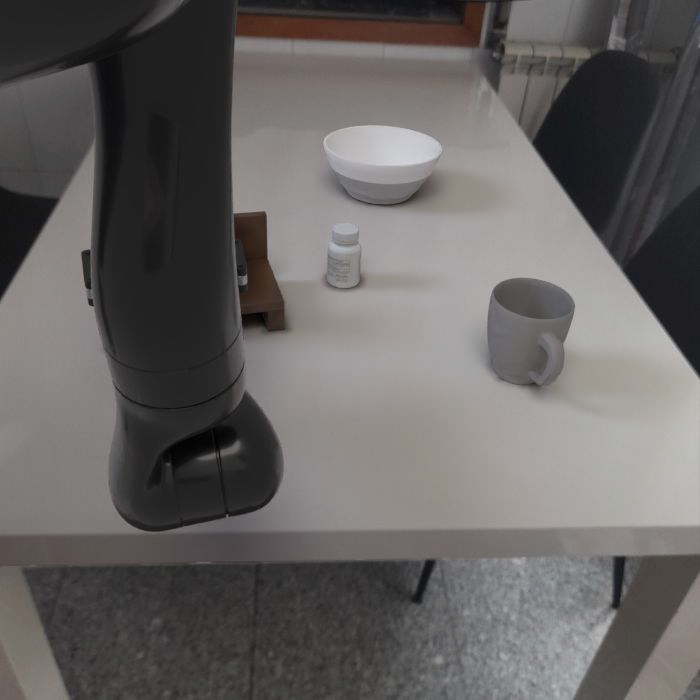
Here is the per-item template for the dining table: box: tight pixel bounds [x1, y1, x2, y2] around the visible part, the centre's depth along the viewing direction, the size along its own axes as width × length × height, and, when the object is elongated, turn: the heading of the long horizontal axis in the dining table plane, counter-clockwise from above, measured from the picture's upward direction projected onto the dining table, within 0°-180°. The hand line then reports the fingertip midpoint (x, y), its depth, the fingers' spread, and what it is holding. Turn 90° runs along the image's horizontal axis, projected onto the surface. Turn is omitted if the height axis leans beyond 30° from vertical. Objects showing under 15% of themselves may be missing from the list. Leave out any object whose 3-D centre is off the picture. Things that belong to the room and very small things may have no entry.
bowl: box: [322, 124, 443, 205], centre depth 119 cm, size 20×20×8 cm
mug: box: [486, 277, 576, 386], centre depth 77 cm, size 12×9×10 cm
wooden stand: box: [233, 210, 286, 332], centre depth 85 cm, size 20×12×10 cm, turn 106°
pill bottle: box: [326, 222, 362, 289], centre depth 94 cm, size 4×4×8 cm
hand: (161, 234), depth 70 cm, fingers open, 8 cm apart
